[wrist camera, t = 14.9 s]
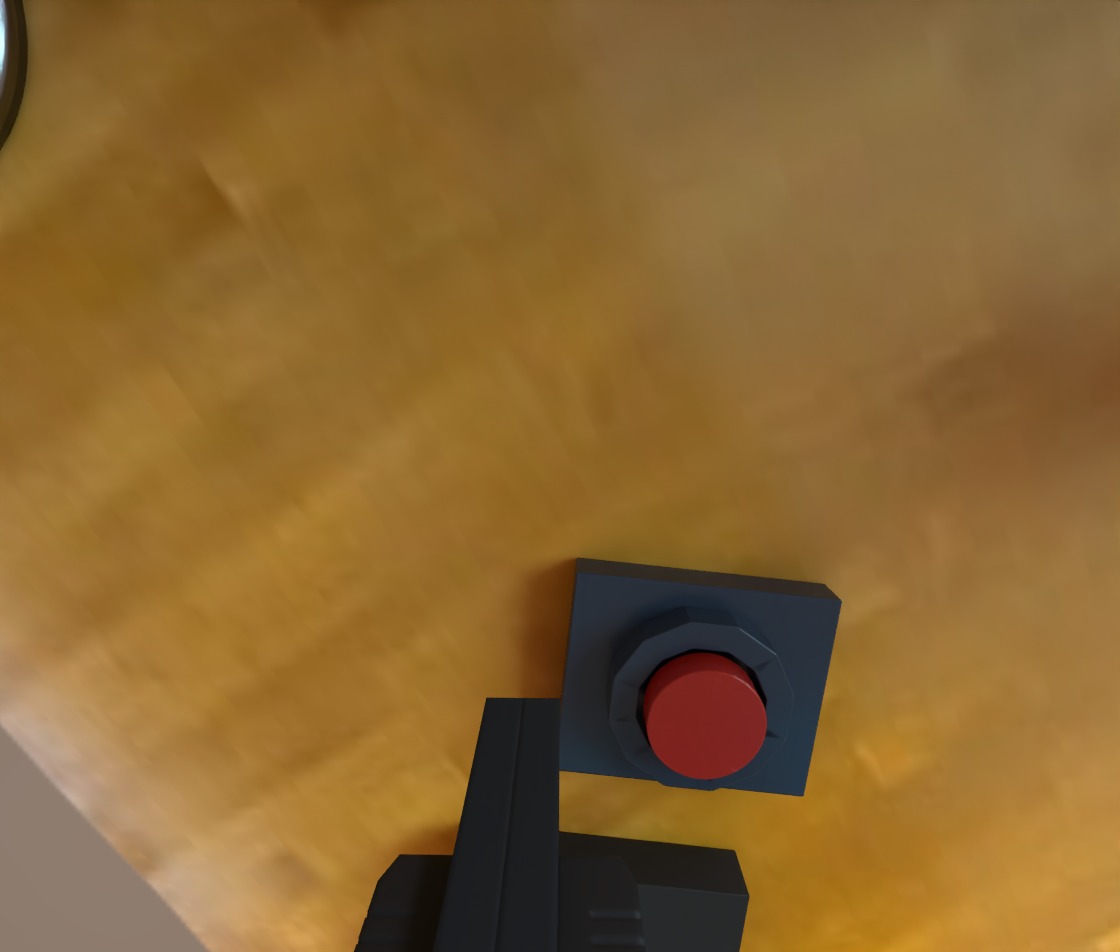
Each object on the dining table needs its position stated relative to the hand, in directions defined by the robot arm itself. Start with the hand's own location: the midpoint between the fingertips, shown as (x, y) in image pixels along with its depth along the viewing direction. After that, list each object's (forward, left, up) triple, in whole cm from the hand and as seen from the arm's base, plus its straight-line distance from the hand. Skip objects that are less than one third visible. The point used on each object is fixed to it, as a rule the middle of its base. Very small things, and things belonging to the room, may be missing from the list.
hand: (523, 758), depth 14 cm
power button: (+7, -7, -15) cm, 18 cm away
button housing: (+7, -7, -18) cm, 21 cm away
